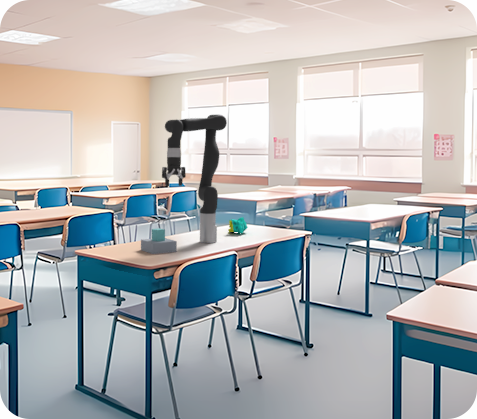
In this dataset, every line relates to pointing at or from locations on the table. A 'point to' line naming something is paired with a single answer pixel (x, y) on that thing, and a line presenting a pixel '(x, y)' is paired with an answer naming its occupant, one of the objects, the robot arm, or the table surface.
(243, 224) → the teal lumpy shape
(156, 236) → the teal block
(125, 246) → the table surface
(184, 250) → the table surface
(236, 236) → the table surface
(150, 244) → the slate block
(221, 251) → the table surface
